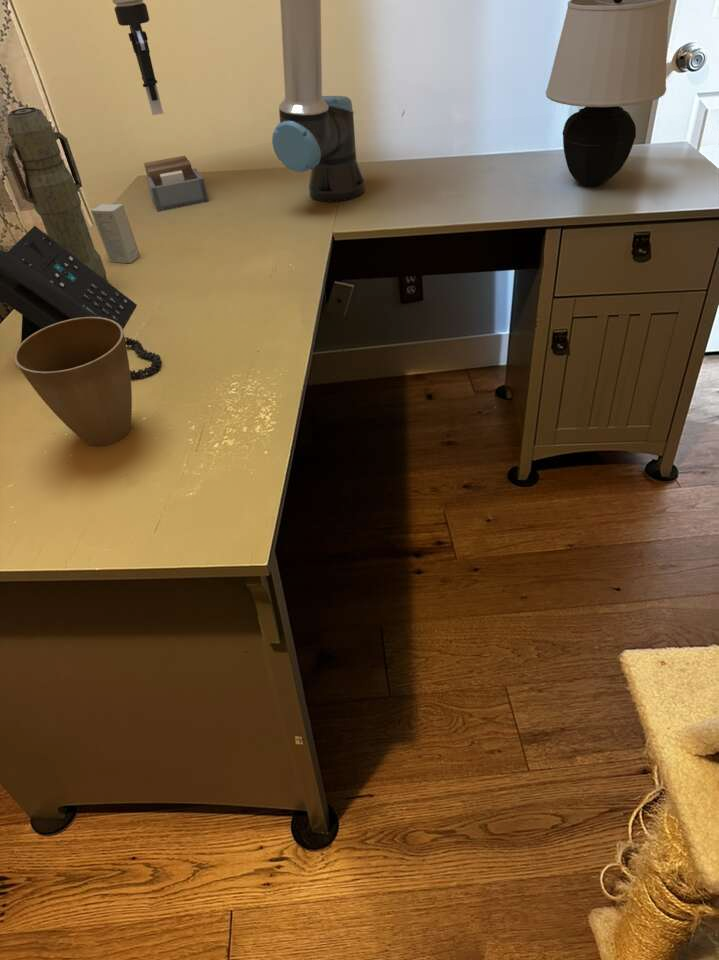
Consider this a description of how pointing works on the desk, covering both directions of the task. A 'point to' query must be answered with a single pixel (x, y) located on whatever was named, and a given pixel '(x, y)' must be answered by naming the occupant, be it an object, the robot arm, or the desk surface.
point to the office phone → (61, 290)
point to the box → (178, 192)
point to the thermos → (50, 183)
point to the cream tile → (172, 177)
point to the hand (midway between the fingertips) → (157, 113)
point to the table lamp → (607, 79)
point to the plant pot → (82, 376)
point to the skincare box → (115, 233)
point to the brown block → (168, 168)
